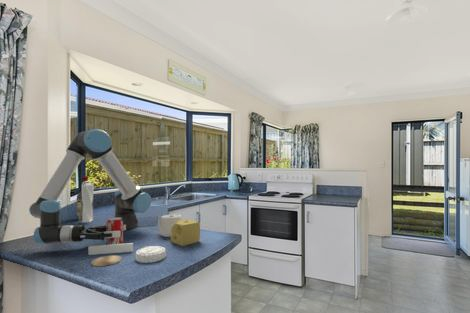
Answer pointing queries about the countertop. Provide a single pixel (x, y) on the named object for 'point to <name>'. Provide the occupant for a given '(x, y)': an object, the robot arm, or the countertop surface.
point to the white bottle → (87, 202)
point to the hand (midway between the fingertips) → (123, 230)
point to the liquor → (79, 199)
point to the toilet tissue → (167, 224)
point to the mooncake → (150, 254)
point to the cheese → (185, 232)
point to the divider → (110, 248)
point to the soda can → (115, 225)
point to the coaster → (106, 261)
